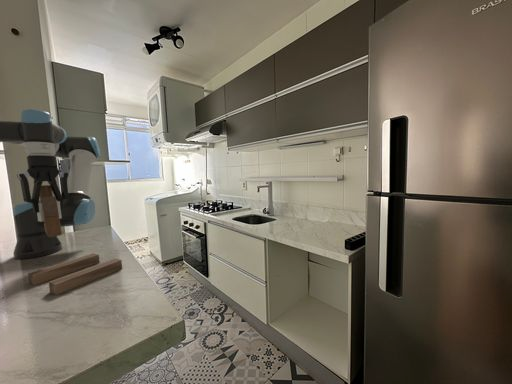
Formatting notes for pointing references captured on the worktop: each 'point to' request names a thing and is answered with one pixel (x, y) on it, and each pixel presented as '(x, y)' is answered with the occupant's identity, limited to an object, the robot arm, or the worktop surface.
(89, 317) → the worktop surface
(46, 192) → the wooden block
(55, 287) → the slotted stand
